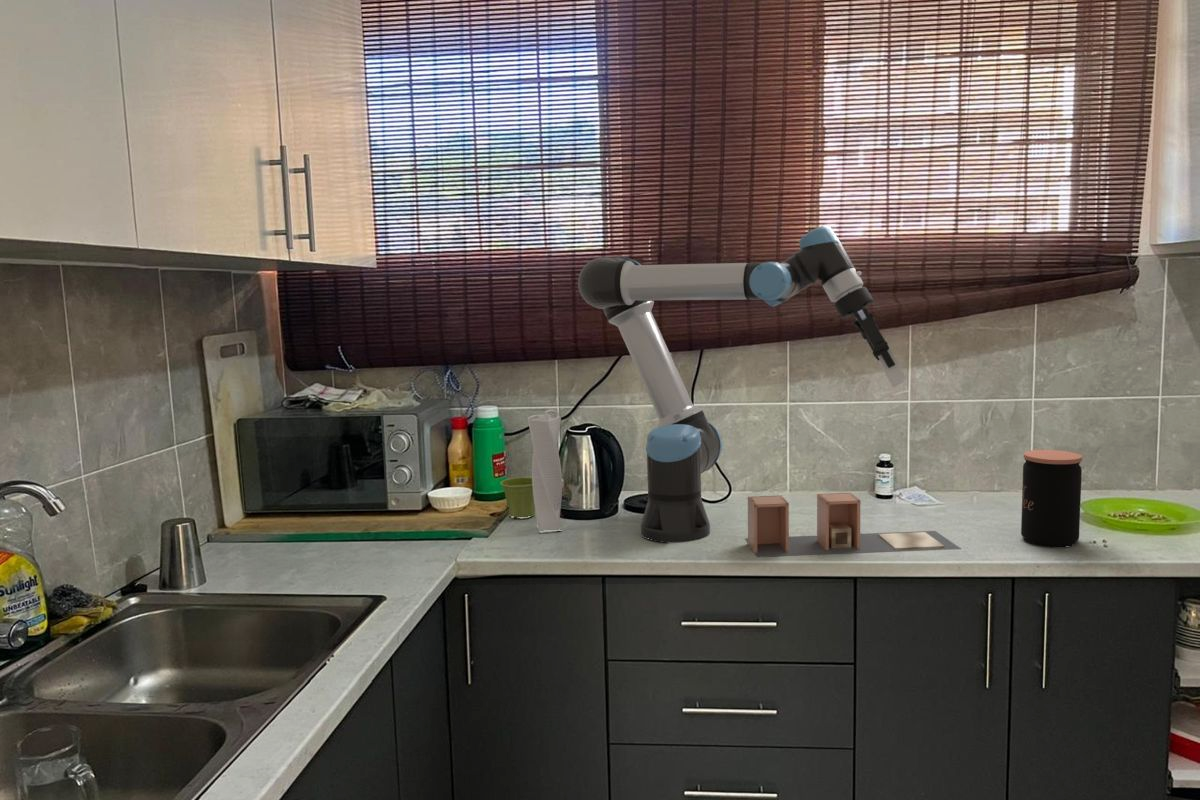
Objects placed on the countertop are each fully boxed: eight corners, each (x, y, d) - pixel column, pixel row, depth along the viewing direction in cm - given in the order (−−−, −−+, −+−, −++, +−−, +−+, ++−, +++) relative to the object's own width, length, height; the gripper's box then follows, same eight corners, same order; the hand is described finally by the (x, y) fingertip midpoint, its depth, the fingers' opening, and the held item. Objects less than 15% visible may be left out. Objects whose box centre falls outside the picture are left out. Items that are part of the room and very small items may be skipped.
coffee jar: (1025, 531, 189) (1028, 448, 187) (1082, 538, 183) (1085, 452, 181) (1015, 543, 180) (1018, 457, 178) (1074, 551, 174) (1078, 461, 172)
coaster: (895, 549, 178) (895, 547, 178) (878, 535, 188) (878, 534, 188) (944, 547, 178) (944, 545, 178) (924, 533, 188) (924, 532, 188)
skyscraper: (568, 533, 199) (563, 409, 195) (535, 536, 197) (530, 411, 194) (562, 524, 206) (557, 405, 203) (530, 527, 205) (525, 407, 201)
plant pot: (509, 523, 208) (507, 487, 207) (497, 514, 217) (495, 480, 216) (546, 518, 212) (545, 482, 211) (533, 509, 221) (531, 475, 219)
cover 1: (754, 552, 179) (753, 504, 177) (748, 543, 185) (747, 496, 184) (788, 551, 179) (788, 503, 178) (781, 542, 185) (781, 495, 184)
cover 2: (825, 550, 179) (825, 501, 178) (817, 540, 186) (817, 494, 184) (860, 548, 179) (860, 500, 178) (850, 539, 186) (850, 492, 184)
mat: (757, 559, 176) (757, 557, 176) (744, 540, 189) (744, 538, 189) (961, 550, 177) (961, 548, 177) (935, 532, 190) (935, 530, 190)
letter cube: (831, 548, 180) (831, 529, 180) (826, 542, 184) (826, 523, 184) (851, 547, 180) (851, 528, 180) (845, 541, 184) (845, 523, 184)
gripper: (864, 275, 173) (919, 370, 170) (866, 294, 197) (914, 377, 194) (829, 295, 175) (882, 389, 172) (835, 311, 199) (882, 394, 196)
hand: (899, 383), depth 183 cm, fingers open, 13 cm apart
